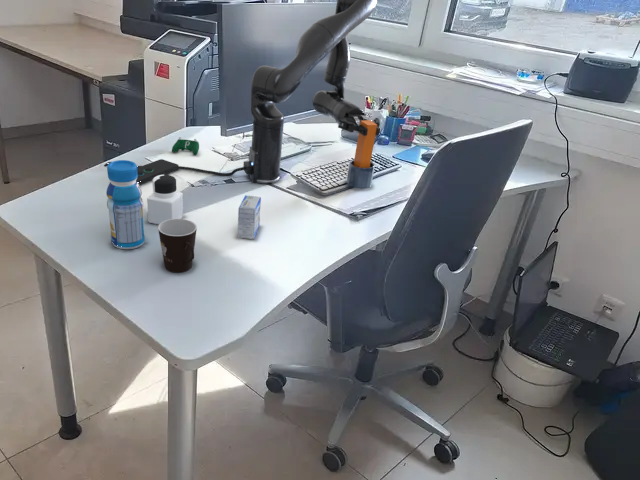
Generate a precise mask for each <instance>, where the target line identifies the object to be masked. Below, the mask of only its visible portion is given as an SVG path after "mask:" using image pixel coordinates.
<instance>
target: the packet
mask: <svg viewBox="0 0 640 480" xmlns="http://www.w3.org/2000/svg"><path fill="white" fill-rule="evenodd" d="M371 120H372V119H371ZM371 120H363V121H361V122H360V123H361V125H363V126H365V127H366V128H367V129H368V132H367V136H363V135H362V134H360V133H357V134H358V135H357V140H356V147H355V148H356V149H355V153H354V158H353V160H354V165H353V166H356V167H360V168H370V162H372V157H373V152H374V151H373V150H374V145H375V140H376V129H377V124H375V123H374V122H372V121H371Z"/></svg>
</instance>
